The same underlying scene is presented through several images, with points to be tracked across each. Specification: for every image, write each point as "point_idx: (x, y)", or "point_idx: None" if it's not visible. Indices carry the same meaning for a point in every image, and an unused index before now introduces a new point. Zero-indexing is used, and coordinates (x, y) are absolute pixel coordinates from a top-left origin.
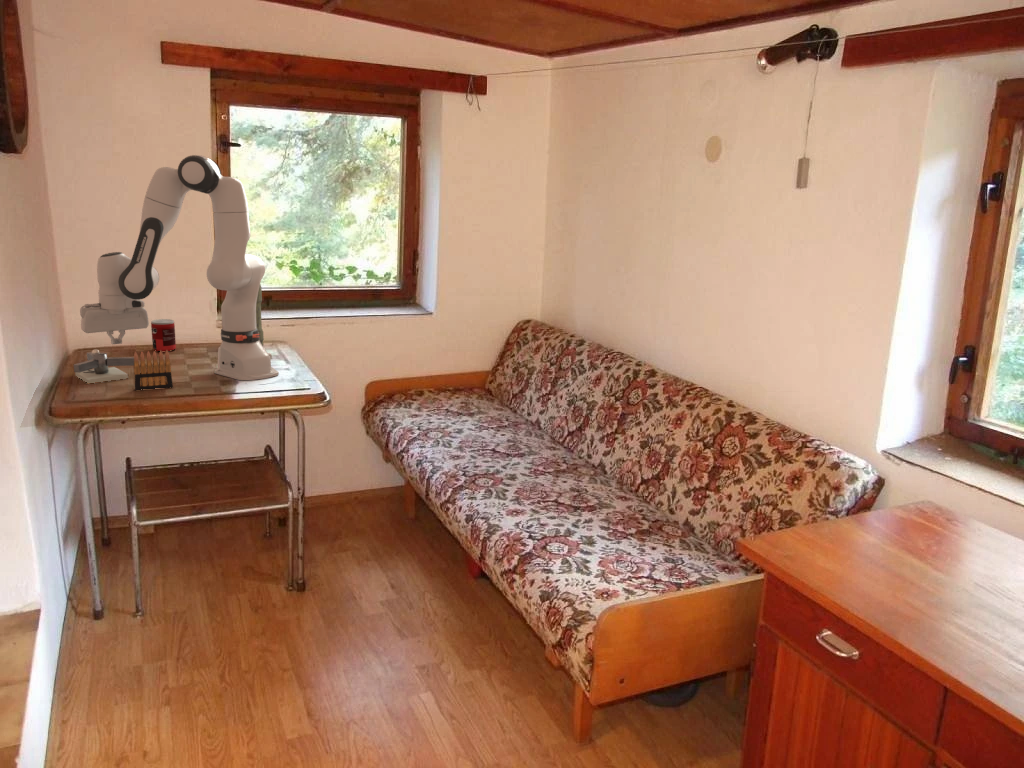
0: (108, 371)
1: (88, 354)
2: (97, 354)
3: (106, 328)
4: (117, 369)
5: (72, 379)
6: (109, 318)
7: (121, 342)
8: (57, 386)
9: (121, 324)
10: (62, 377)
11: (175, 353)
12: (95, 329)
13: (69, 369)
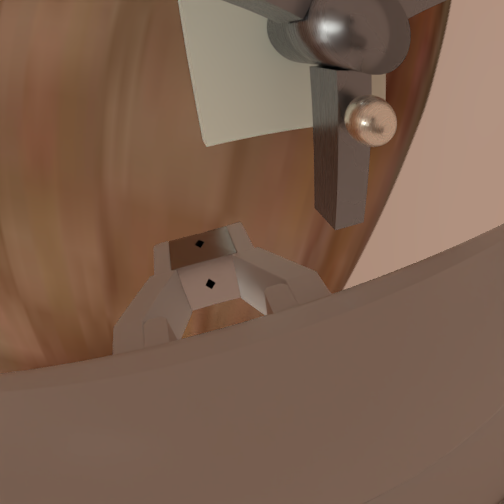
0: (260, 46)
1: (363, 193)
2: (389, 18)
3: (408, 303)
4: (202, 74)
5: (391, 72)
6: (438, 481)
7: (160, 246)
8: (439, 12)
9: (165, 437)
10: (405, 124)
11: (9, 360)
12: (498, 254)
13: (350, 235)
